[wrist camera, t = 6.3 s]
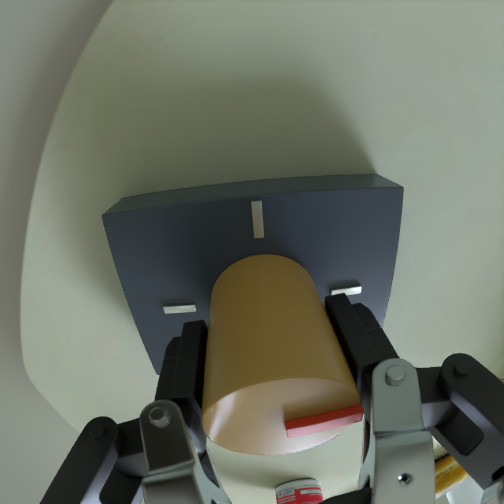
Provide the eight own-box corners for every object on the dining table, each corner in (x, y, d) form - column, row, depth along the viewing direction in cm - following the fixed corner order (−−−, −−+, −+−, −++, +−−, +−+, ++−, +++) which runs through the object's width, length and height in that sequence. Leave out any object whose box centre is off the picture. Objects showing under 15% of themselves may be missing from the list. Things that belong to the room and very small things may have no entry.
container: (441, 483, 55) (460, 536, 33) (437, 480, 49) (458, 542, 26) (484, 455, 52) (507, 507, 29) (487, 447, 45) (514, 507, 23)
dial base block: (164, 344, 16) (156, 377, 14) (122, 197, 12) (99, 216, 10) (362, 323, 17) (377, 353, 14) (377, 173, 13) (406, 187, 10)
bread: (467, 448, 38) (479, 474, 31) (367, 502, 44) (373, 527, 37) (463, 440, 33) (478, 471, 26) (343, 501, 40) (349, 532, 32)
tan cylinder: (224, 345, 13) (223, 468, 8) (199, 264, 11) (174, 400, 6) (317, 329, 13) (356, 446, 7) (311, 244, 11) (375, 366, 6)
